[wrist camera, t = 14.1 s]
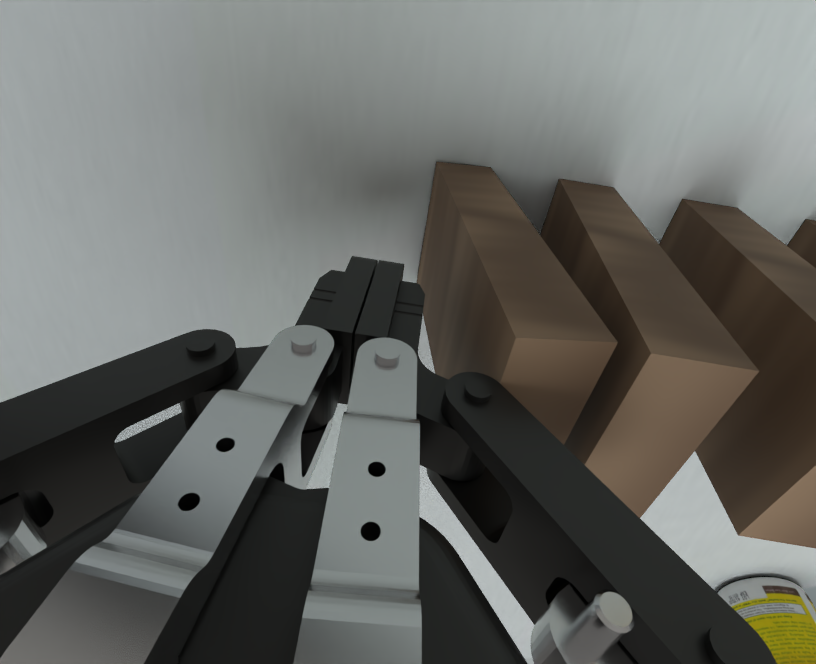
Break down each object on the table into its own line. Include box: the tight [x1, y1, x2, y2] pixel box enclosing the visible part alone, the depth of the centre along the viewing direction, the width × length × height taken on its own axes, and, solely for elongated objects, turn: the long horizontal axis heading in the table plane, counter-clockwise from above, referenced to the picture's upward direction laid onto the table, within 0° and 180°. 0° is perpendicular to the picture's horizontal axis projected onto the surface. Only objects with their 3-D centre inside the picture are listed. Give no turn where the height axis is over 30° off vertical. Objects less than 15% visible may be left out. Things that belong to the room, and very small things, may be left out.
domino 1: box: [417, 162, 618, 445], centre depth 14 cm, size 2×5×10 cm, turn 173°
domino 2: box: [540, 179, 759, 518], centre depth 14 cm, size 2×5×10 cm, turn 173°
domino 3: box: [659, 199, 816, 548], centre depth 14 cm, size 2×5×10 cm, turn 173°
